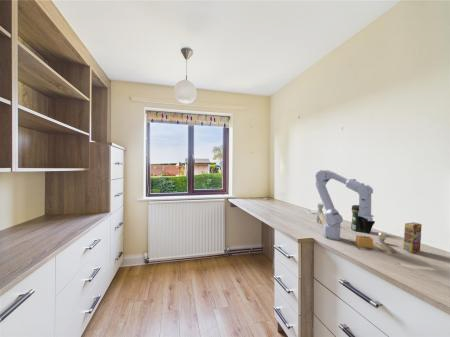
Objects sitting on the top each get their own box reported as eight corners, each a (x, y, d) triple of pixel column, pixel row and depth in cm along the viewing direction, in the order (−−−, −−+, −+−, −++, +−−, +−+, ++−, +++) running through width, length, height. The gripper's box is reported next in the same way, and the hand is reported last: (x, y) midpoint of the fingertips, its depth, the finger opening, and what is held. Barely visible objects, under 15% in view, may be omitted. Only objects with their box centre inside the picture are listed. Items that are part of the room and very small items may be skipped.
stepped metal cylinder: (379, 245, 124) (380, 233, 124) (377, 243, 127) (377, 231, 127) (386, 246, 123) (386, 234, 123) (383, 244, 127) (384, 232, 127)
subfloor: (360, 253, 111) (360, 251, 111) (348, 241, 129) (348, 239, 129) (405, 258, 106) (405, 256, 106) (386, 245, 124) (386, 243, 124)
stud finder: (358, 246, 118) (358, 237, 118) (355, 244, 121) (356, 235, 121) (372, 248, 116) (373, 238, 116) (369, 245, 120) (369, 236, 120)
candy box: (412, 253, 113) (413, 225, 113) (402, 250, 117) (403, 223, 117) (421, 251, 117) (422, 223, 117) (411, 248, 121) (412, 221, 121)
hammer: (333, 219, 145) (323, 203, 173) (326, 219, 146) (316, 202, 174) (331, 240, 148) (321, 220, 177) (323, 239, 149) (315, 220, 178)
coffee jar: (361, 229, 159) (362, 204, 159) (368, 232, 151) (369, 206, 151) (348, 228, 159) (349, 204, 159) (355, 231, 151) (356, 205, 151)
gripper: (379, 209, 111) (379, 235, 111) (367, 205, 125) (367, 228, 125) (364, 208, 113) (363, 234, 112) (354, 204, 127) (354, 227, 127)
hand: (364, 231), depth 119 cm, fingers open, 7 cm apart
